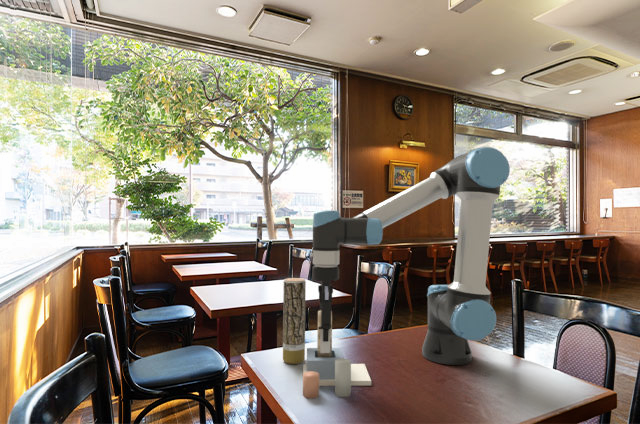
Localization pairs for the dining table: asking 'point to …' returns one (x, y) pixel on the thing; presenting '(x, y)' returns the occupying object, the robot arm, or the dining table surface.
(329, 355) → the long dowel
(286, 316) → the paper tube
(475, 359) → the dining table surface
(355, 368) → the socket board
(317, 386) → the short dowel
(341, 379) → the medium dowel
